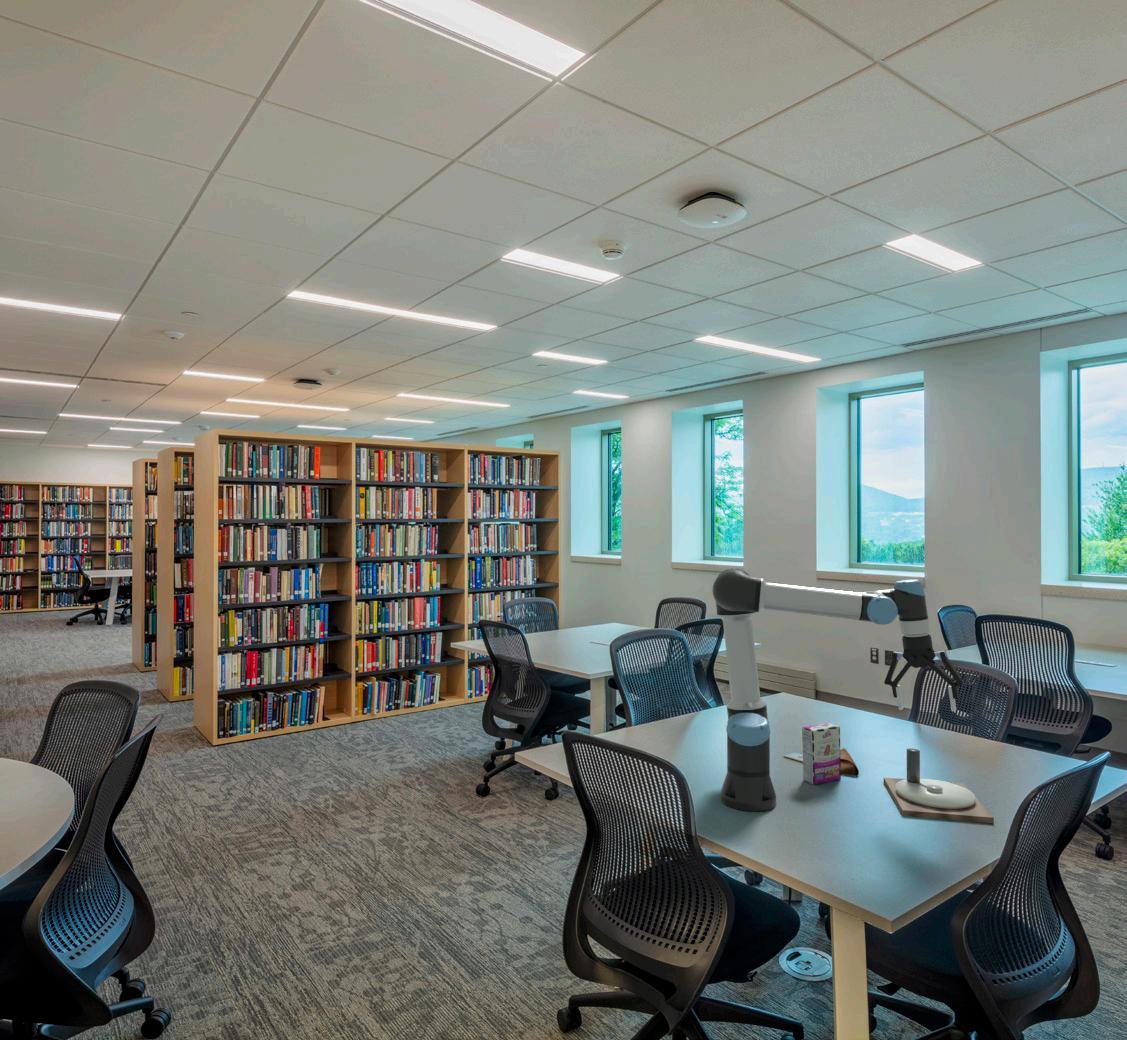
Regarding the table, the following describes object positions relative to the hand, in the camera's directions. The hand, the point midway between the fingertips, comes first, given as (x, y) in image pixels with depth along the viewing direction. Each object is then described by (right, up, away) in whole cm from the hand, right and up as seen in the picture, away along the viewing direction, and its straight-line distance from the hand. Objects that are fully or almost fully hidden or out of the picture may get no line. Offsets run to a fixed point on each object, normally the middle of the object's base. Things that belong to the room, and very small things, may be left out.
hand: (927, 709), depth 206 cm
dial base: (+2, -26, 0) cm, 26 cm away
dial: (+2, -24, 0) cm, 24 cm away
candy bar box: (-24, -26, +17) cm, 39 cm away
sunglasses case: (-13, -27, +30) cm, 42 cm away
